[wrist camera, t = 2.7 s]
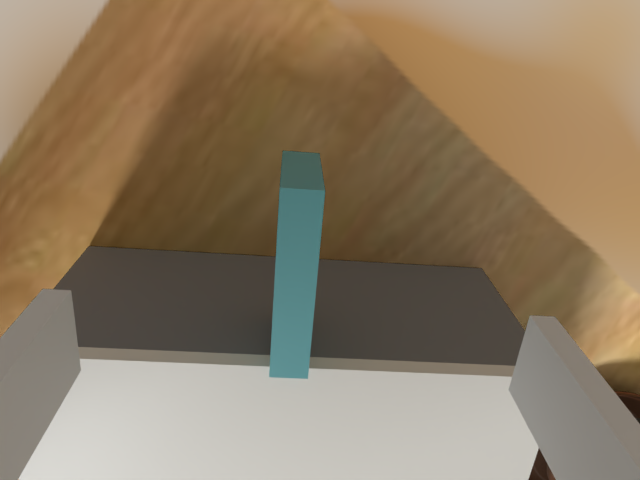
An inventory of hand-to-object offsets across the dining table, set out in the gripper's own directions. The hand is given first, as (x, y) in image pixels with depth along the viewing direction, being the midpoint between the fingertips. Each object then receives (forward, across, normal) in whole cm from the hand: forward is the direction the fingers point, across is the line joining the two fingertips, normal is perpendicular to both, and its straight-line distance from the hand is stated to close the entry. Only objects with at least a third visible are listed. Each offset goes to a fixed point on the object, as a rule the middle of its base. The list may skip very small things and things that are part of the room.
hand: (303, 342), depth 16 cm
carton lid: (+10, 0, +9) cm, 14 cm away
